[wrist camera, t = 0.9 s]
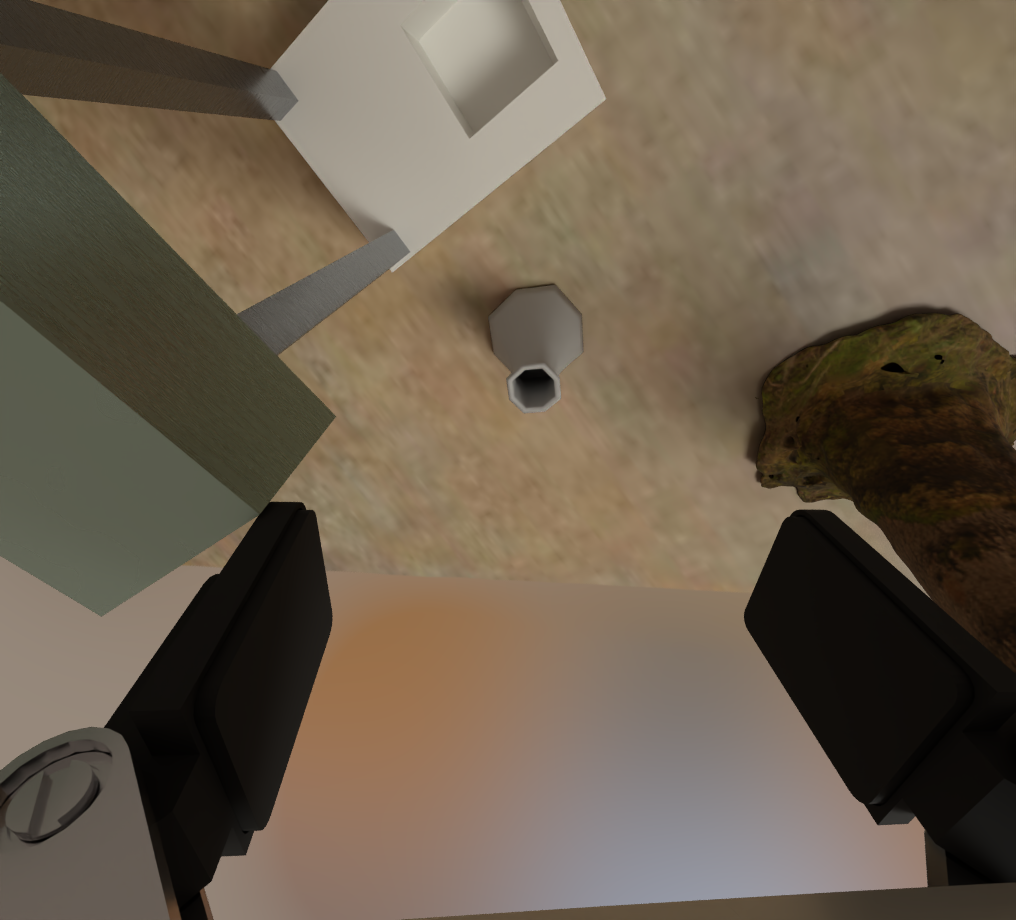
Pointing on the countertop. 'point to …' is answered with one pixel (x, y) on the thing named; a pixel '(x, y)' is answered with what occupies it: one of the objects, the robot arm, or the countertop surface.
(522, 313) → the flask
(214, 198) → the countertop surface
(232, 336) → the street lamp
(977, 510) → the tree stump
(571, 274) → the countertop surface
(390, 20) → the socket block
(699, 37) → the countertop surface
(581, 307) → the countertop surface
